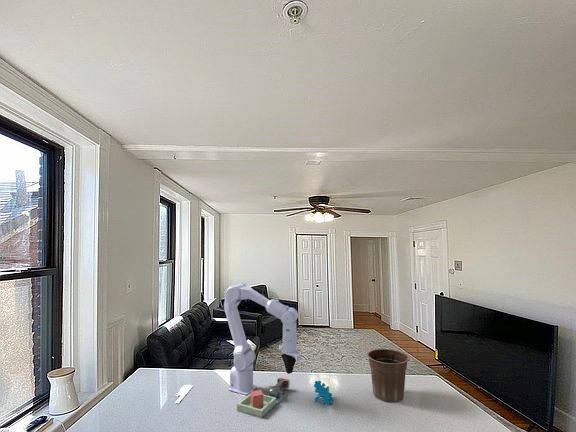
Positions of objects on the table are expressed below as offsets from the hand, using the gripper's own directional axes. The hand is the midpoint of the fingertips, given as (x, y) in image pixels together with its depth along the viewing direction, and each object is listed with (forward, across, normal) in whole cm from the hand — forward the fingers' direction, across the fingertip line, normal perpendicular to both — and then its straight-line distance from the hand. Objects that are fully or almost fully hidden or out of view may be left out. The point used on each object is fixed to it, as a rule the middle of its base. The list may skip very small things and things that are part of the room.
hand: (289, 372), depth 138 cm
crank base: (+9, +2, +5) cm, 11 cm away
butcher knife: (+10, +24, +38) cm, 46 cm away
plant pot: (+10, -20, -35) cm, 42 cm away
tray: (+9, -1, +15) cm, 18 cm away
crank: (+9, +4, +3) cm, 10 cm away
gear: (+10, -10, -10) cm, 17 cm away
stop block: (+9, -1, +15) cm, 18 cm away
